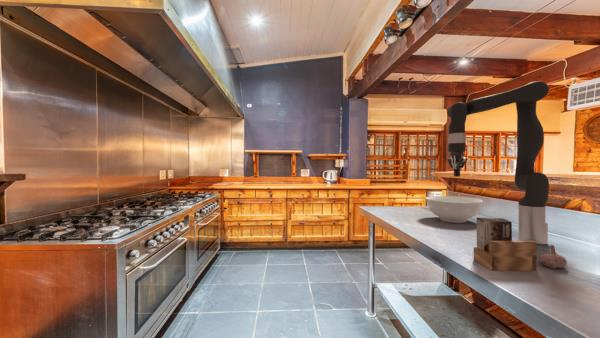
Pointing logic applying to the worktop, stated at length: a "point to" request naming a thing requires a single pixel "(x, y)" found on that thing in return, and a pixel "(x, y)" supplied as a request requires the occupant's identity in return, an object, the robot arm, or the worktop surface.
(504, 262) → the holder
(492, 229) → the coffee box
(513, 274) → the worktop surface
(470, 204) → the bowl
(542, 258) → the garlic bulb
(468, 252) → the worktop surface
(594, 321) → the worktop surface
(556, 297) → the worktop surface
